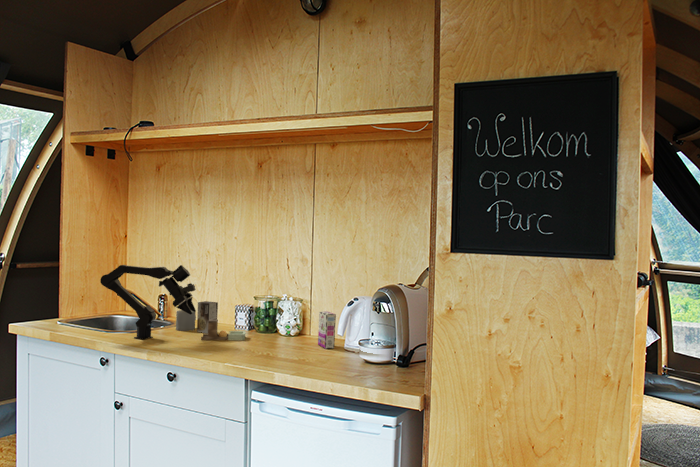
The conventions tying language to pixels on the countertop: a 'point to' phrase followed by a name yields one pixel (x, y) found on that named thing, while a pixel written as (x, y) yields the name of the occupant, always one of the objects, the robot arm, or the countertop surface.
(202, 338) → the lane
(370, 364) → the countertop surface
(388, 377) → the countertop surface
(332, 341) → the candy bar box
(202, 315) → the coffee box
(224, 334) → the ball
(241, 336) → the grey-green flat block
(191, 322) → the coffee mug
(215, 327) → the brown wooden box
